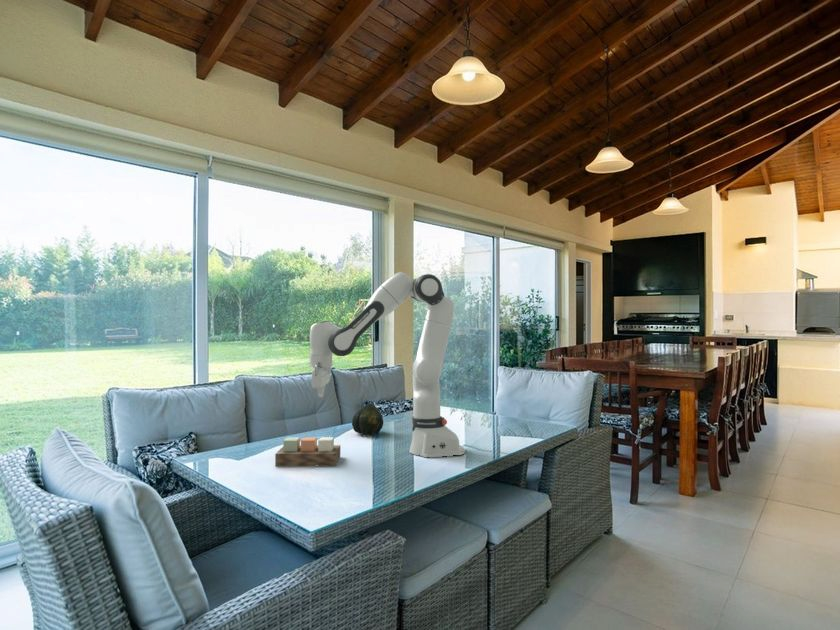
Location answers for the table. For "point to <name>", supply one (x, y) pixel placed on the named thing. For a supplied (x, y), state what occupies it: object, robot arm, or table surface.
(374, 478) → the table surface
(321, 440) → the cream key
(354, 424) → the squash
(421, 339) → the robot arm
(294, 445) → the sage key
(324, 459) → the board
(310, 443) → the terracotta key
